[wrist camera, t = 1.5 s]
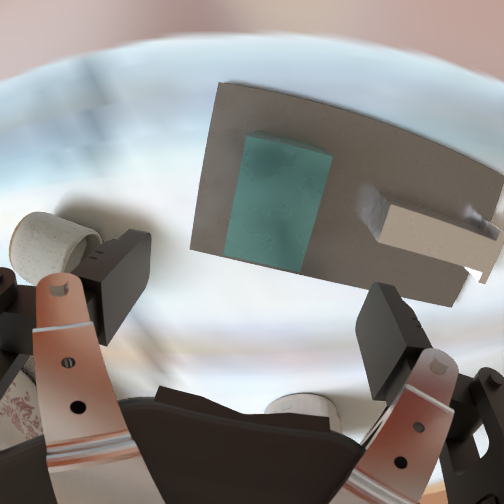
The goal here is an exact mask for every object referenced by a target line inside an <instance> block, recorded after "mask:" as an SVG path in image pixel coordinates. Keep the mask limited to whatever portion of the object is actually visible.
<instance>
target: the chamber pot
mask: <svg viewBox="0 0 504 504" xmlns="http://www.w3.org/2000/svg"><path fill="white" fill-rule="evenodd" d="M41 434H44V432H43V426H42V421H41V415H40V409H39V402H38V394H37V386H36V385H35V384H34V383H33V382H32V381H31V379H30V378H29V377H28V376H27V375H26V374H25V373H24V372H23V371H22V370H20V371H19V373H18V374H17V376H16V377H15V379H14V380H13V382H12V383H11V385H10V386H9V388H8V389H7V391H6V393H5V394H4V396H3V397H2V399H1V400H0V451H2V450H4V449H7V448H10V447H12V446H15V445H17V444H20V443H22V442H24V441H27V440H29V439H32V438H34V437H37V436H39V435H41Z"/></svg>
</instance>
